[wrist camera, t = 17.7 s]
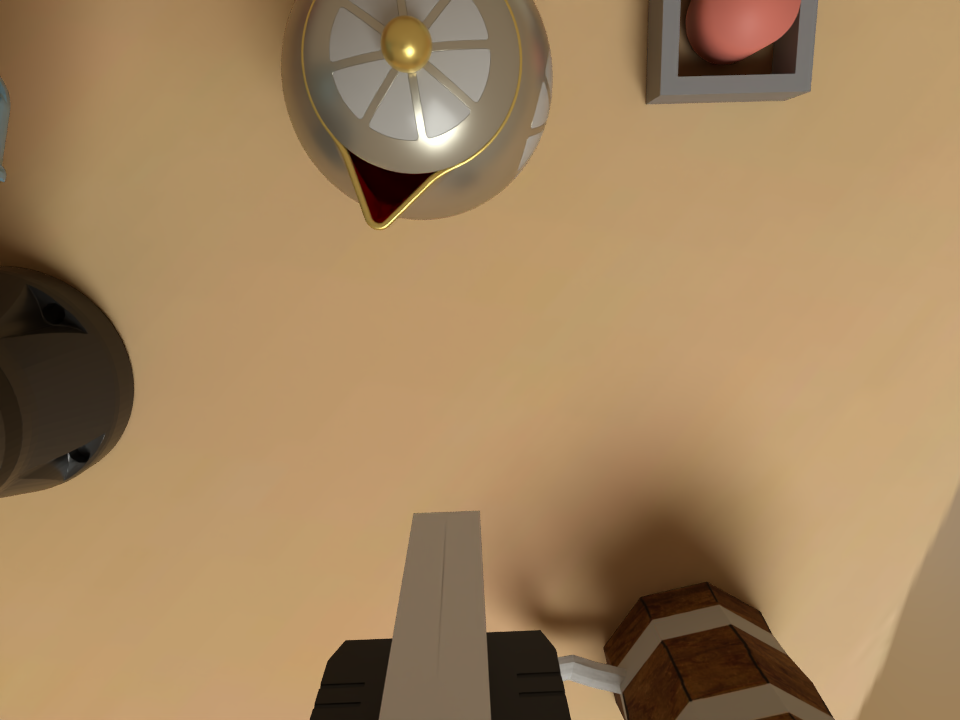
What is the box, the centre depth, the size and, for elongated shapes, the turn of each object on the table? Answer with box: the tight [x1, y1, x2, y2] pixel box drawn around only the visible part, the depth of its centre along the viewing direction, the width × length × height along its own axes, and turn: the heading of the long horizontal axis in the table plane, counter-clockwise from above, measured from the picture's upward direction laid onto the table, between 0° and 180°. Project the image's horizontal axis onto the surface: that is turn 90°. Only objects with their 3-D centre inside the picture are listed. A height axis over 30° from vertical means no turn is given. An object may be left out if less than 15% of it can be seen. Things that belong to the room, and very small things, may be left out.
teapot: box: [281, 0, 553, 230], centre depth 31 cm, size 18×14×16 cm
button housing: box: [646, 0, 818, 104], centre depth 38 cm, size 9×9×3 cm
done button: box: [686, 0, 801, 65], centre depth 36 cm, size 5×5×4 cm
